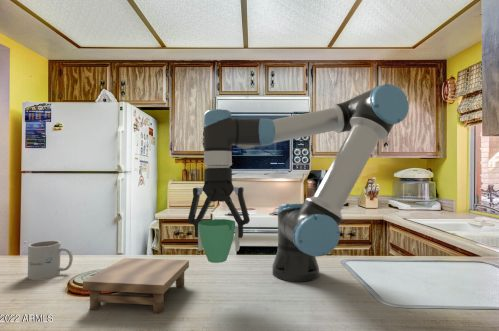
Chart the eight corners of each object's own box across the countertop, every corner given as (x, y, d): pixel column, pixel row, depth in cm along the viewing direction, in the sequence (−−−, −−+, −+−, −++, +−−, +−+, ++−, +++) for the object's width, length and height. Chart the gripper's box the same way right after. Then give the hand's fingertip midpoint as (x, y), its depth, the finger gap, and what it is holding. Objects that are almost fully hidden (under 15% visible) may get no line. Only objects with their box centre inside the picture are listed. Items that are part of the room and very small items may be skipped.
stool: (188, 283, 92) (188, 260, 92) (163, 315, 72) (163, 285, 72) (124, 281, 94) (124, 257, 94) (82, 310, 74) (82, 281, 74)
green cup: (232, 266, 76) (232, 225, 76) (194, 265, 77) (193, 225, 77) (240, 250, 91) (240, 216, 91) (207, 250, 92) (207, 216, 92)
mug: (20, 280, 94) (21, 247, 94) (39, 270, 103) (40, 240, 103) (61, 280, 94) (61, 247, 94) (76, 270, 103) (77, 240, 103)
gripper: (259, 166, 87) (260, 246, 87) (183, 167, 89) (184, 245, 89) (257, 166, 79) (258, 253, 79) (174, 167, 82) (175, 252, 81)
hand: (219, 249), depth 84 cm, fingers closed on green cup, 9 cm apart
